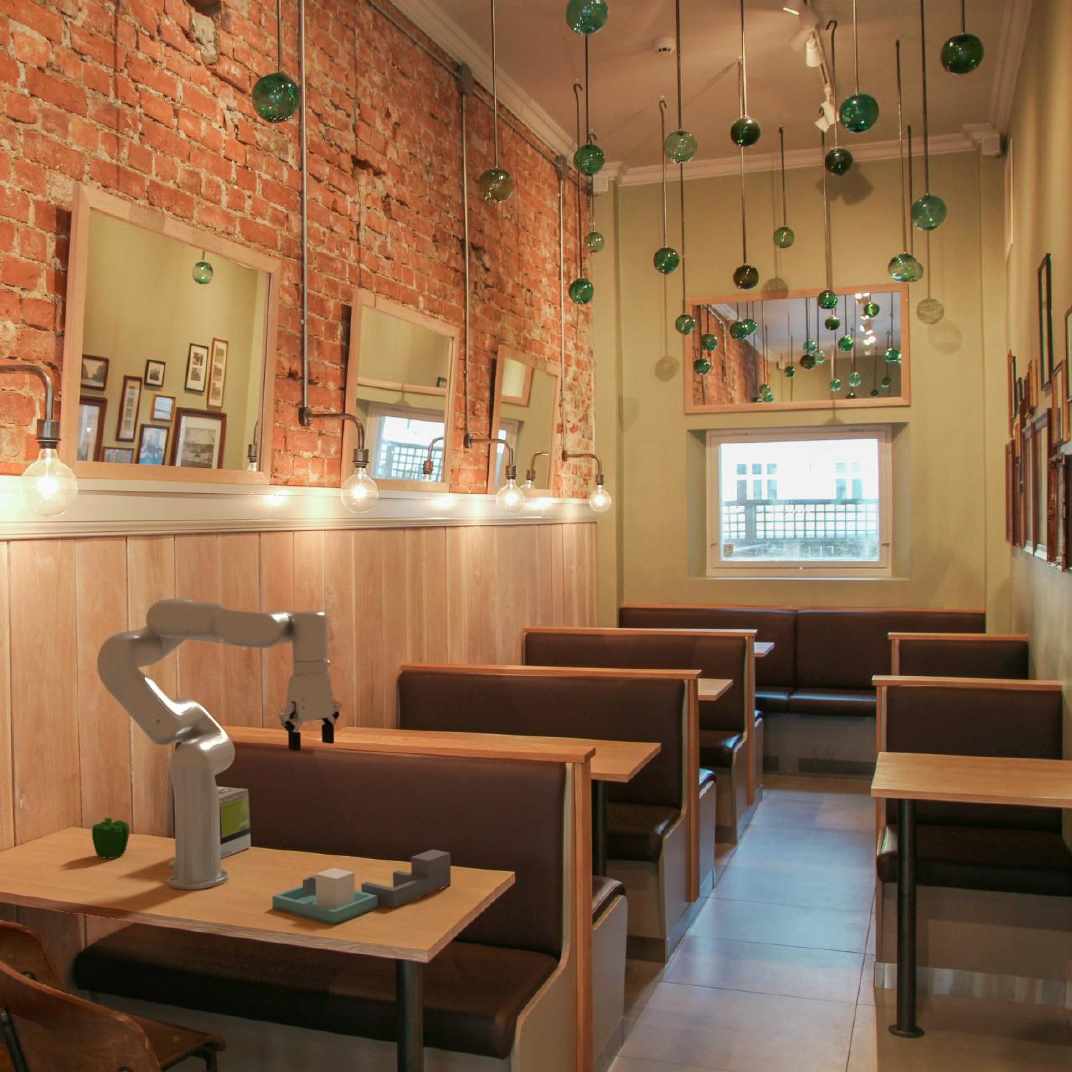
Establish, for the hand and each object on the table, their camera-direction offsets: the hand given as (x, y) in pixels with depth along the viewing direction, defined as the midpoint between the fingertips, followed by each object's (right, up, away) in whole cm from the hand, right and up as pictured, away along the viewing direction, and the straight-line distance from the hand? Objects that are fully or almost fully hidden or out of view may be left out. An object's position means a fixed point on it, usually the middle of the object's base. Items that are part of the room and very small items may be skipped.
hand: (311, 746), depth 242 cm
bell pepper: (-54, -32, +26) cm, 67 cm away
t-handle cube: (+6, -30, -16) cm, 34 cm away
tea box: (-29, -31, +26) cm, 50 cm away
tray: (+6, -30, -15) cm, 34 cm away
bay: (+22, -30, -6) cm, 37 cm away
